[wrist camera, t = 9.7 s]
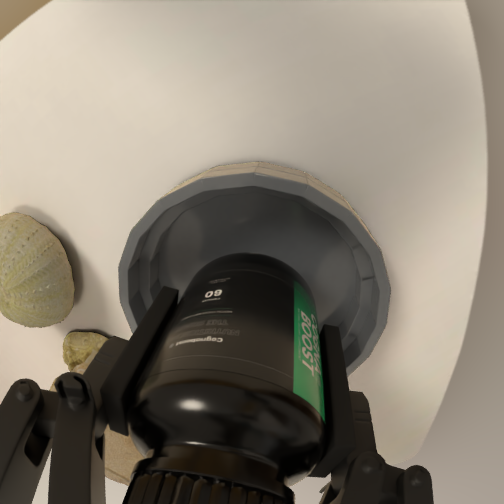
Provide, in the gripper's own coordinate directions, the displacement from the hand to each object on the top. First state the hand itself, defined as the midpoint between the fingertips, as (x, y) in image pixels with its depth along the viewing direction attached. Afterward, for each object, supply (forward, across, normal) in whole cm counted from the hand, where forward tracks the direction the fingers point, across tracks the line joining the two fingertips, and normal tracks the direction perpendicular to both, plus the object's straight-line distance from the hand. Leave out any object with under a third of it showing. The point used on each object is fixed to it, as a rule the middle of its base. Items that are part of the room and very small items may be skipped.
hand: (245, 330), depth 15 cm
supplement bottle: (+2, 0, 0) cm, 2 cm away
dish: (+5, 0, 0) cm, 5 cm away
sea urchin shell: (+5, -17, -3) cm, 18 cm away
